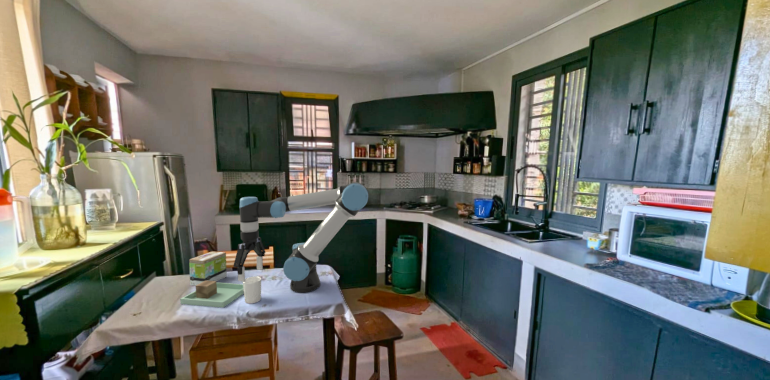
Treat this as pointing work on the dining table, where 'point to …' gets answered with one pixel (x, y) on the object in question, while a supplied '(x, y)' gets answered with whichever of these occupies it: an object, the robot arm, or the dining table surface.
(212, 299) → the mint green serving tray
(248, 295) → the white cup
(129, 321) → the dining table surface
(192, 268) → the tea box
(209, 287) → the walnut block
